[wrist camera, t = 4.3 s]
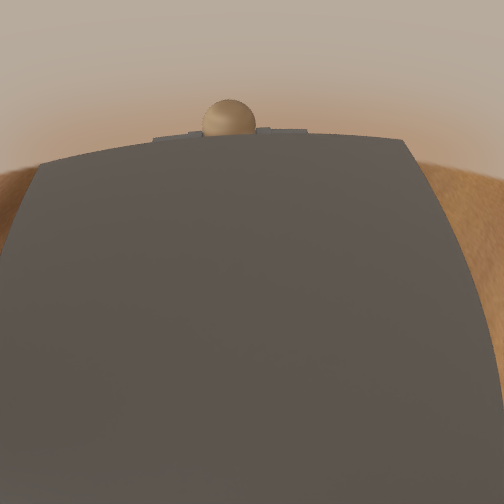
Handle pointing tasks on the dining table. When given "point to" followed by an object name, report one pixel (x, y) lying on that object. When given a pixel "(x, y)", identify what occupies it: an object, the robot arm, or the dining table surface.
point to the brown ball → (228, 119)
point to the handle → (243, 331)
